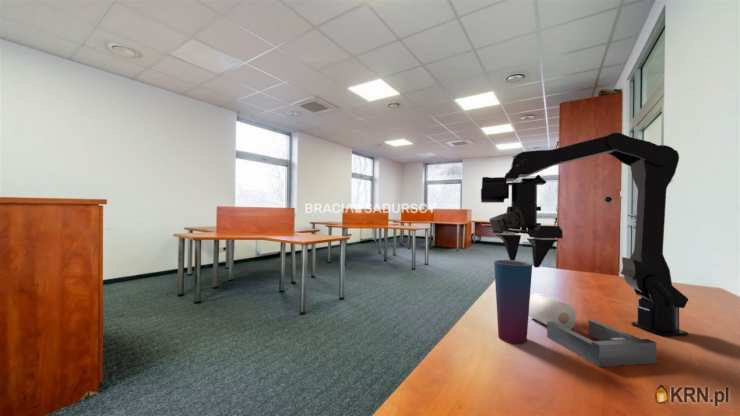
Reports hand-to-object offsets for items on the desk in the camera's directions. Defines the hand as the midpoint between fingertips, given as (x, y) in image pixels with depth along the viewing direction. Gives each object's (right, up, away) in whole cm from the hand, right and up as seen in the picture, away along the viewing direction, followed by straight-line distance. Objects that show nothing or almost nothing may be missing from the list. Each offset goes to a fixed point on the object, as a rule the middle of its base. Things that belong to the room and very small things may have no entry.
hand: (523, 264), depth 73 cm
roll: (+1, -12, -8) cm, 15 cm away
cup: (-11, -12, -16) cm, 23 cm away
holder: (+3, -12, -19) cm, 23 cm away
